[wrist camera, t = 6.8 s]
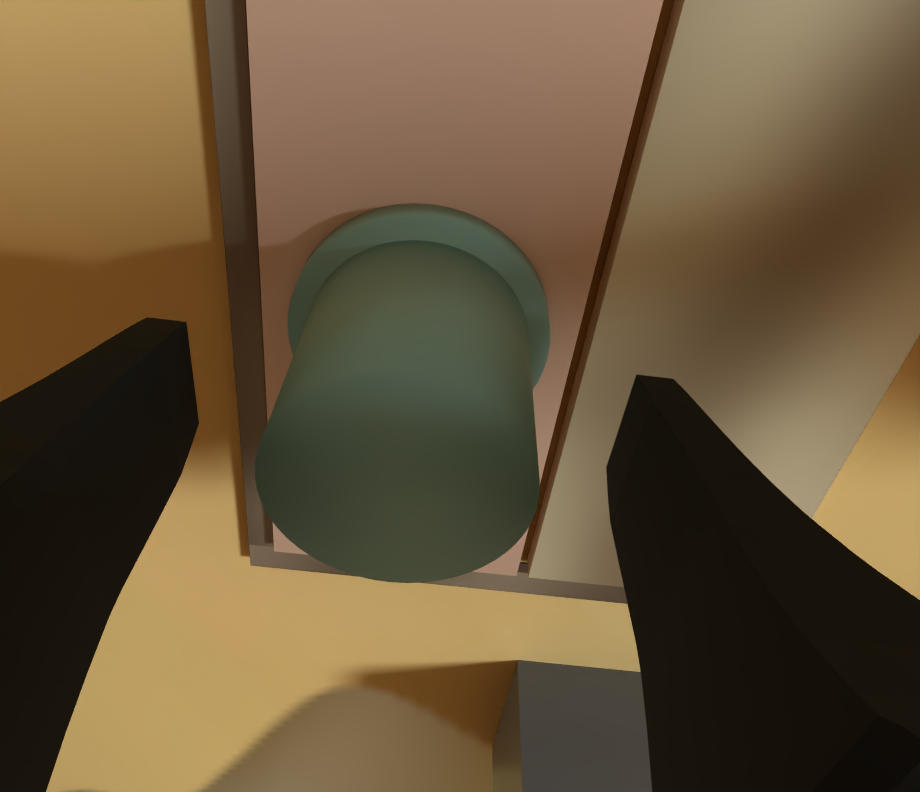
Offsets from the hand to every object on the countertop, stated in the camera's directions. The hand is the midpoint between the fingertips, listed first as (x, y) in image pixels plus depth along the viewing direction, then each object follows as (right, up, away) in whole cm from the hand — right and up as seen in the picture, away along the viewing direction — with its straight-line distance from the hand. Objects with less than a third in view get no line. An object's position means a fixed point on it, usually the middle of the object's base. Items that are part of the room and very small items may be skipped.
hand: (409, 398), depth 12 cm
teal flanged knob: (0, +1, +2) cm, 2 cm away
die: (+5, -10, +11) cm, 16 cm away
